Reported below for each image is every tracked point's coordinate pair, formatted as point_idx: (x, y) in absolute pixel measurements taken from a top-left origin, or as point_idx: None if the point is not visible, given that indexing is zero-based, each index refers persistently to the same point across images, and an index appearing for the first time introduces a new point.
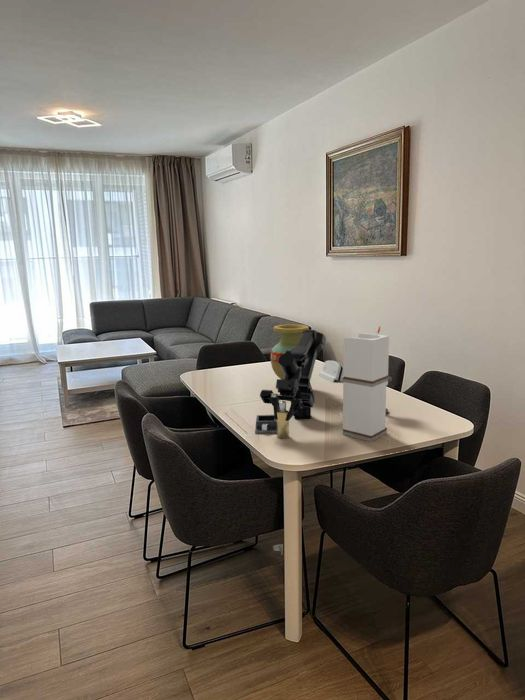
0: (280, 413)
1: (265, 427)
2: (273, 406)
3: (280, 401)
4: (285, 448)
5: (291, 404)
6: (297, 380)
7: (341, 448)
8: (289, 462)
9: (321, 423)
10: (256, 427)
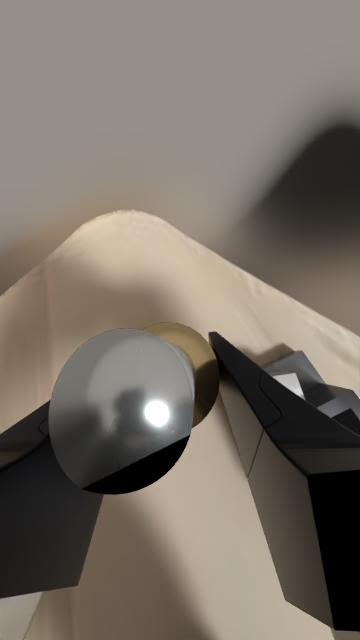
0: (164, 322)
1: (272, 374)
2: (287, 390)
3: (182, 441)
4: (142, 280)
5: (15, 454)
6: None
7: (8, 341)
8: (108, 222)
9: (87, 614)
10: (322, 384)
